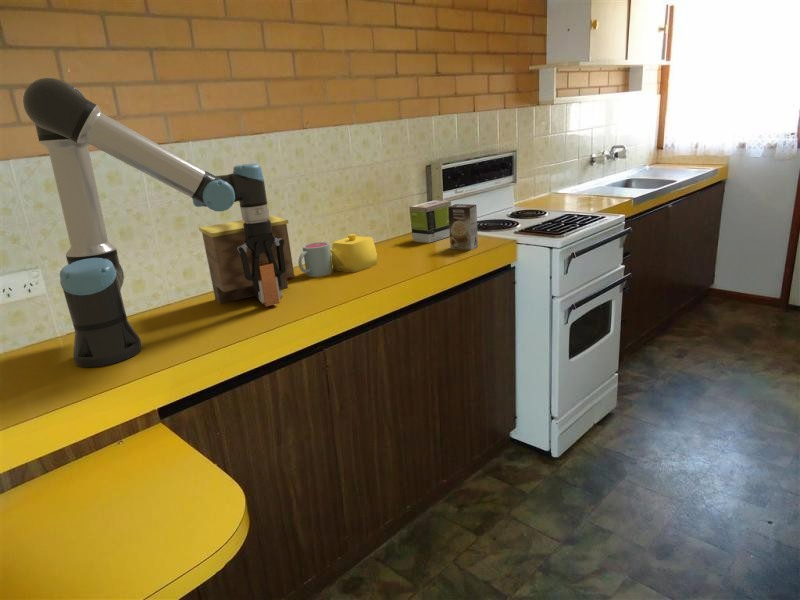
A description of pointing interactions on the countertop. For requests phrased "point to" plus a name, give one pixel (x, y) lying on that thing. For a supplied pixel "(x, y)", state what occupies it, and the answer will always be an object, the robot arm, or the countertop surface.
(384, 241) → the countertop surface
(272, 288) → the upright terracotta brick
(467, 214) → the coffee box
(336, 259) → the teapot
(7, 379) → the countertop surface
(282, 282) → the cabinet
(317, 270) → the mug
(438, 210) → the tea box
